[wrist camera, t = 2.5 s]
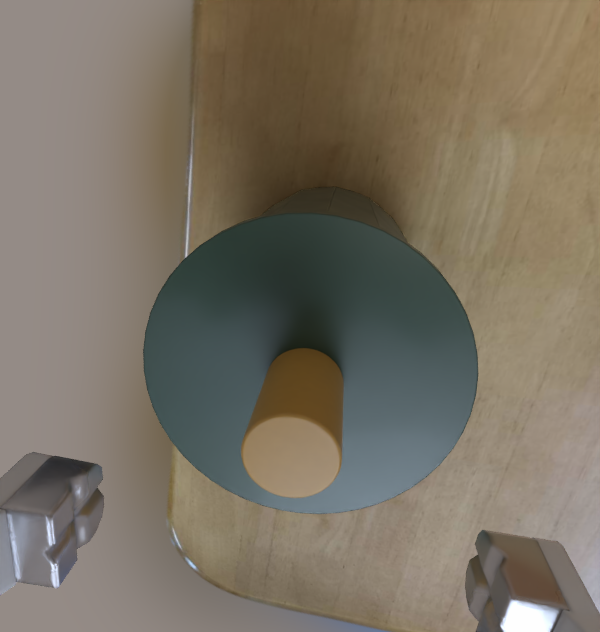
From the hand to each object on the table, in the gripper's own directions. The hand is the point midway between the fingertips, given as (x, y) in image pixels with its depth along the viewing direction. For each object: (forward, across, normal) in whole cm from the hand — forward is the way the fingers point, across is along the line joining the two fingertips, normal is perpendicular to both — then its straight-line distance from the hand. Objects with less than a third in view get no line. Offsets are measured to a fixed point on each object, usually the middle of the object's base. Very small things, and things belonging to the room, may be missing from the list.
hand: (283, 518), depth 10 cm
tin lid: (+6, 0, 0) cm, 7 cm away
